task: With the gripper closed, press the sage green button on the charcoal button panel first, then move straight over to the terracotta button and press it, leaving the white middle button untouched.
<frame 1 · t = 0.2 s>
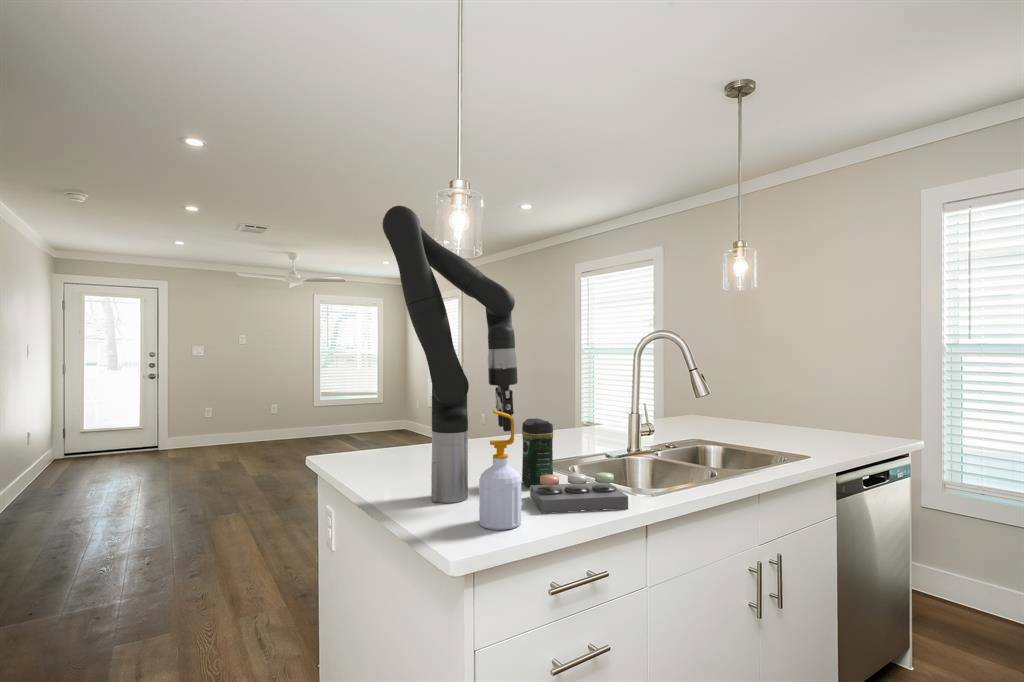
hand: (505, 428, 137), 17 cm above the counter, tool pointing down, fingers open, 8 cm apart
soap bottle: (500, 524, 114), on the counter
button panel: (577, 502, 130), on the counter
terracotta button: (549, 479, 129), point 6 cm above the counter, slide at 0.0 cm
sage button: (604, 477, 131), point 6 cm above the counter, slide at 0.0 cm
coffee jar: (537, 485, 148), on the counter
white button: (577, 478, 130), point 6 cm above the counter, slide at 0.0 cm
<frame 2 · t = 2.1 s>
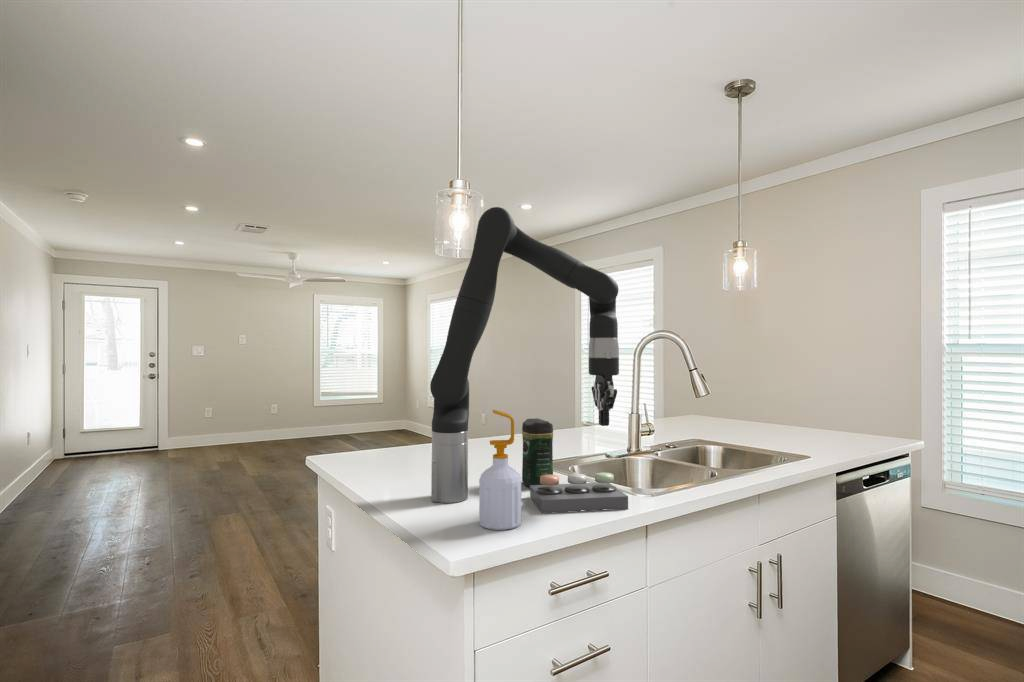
hand: (603, 425, 132), 19 cm above the counter, tool pointing down, fingers closed
nothing on the counter moved.
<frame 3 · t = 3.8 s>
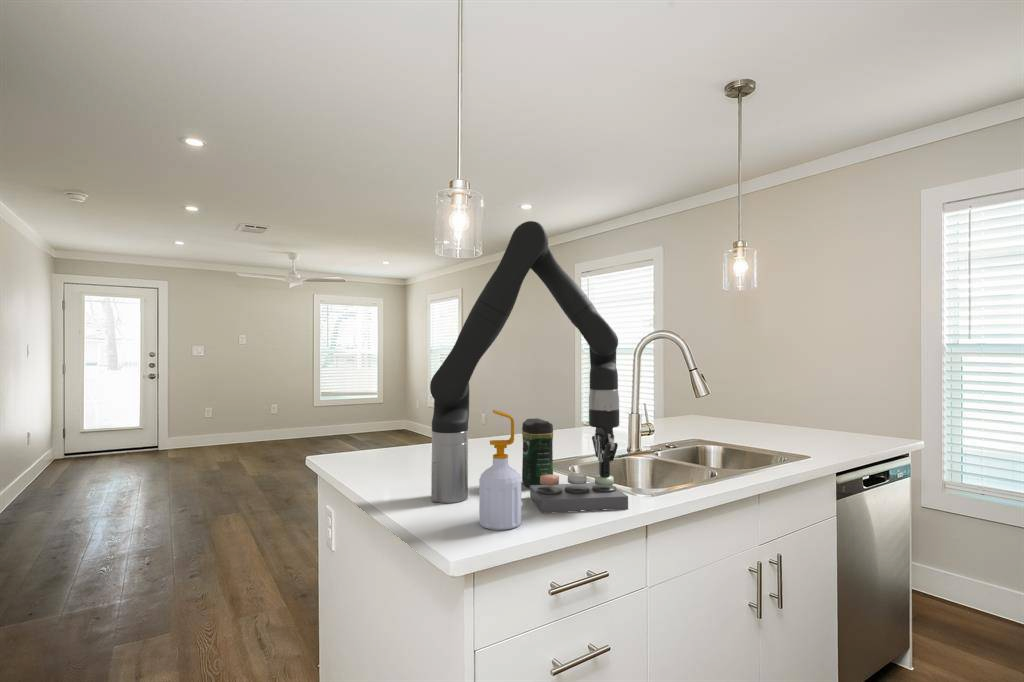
hand: (604, 476, 132), 6 cm above the counter, tool pointing down, fingers closed
sage button: (604, 480, 131), point 5 cm above the counter, slide at 0.6 cm, touching gripper
everything else where it was.
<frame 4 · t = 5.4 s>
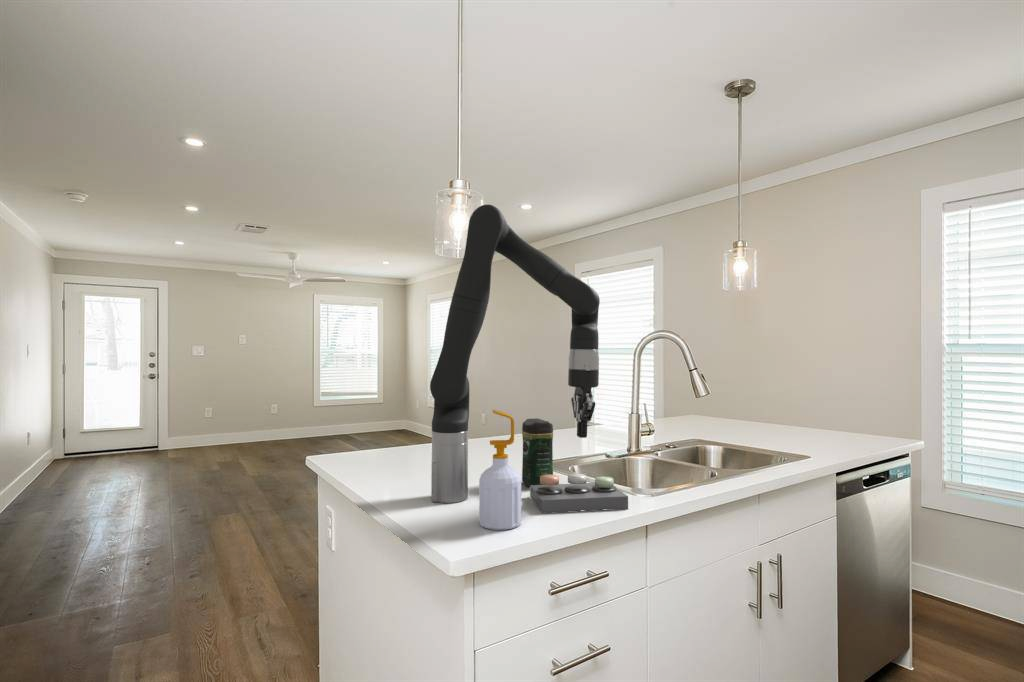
hand: (581, 437, 131), 16 cm above the counter, tool pointing down, fingers closed
sage button: (604, 481, 131), point 5 cm above the counter, slide at 1.0 cm
everything else where it was.
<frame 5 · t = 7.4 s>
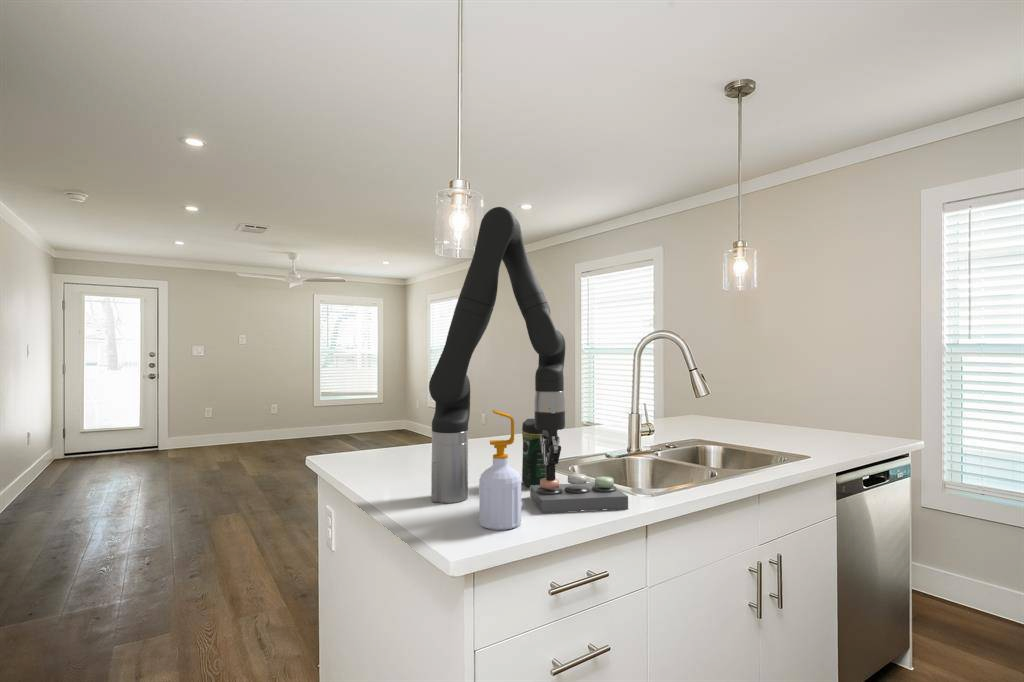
hand: (550, 479, 129), 6 cm above the counter, tool pointing down, fingers closed
terracotta button: (549, 483, 129), point 5 cm above the counter, slide at 0.8 cm, touching gripper
everything else where it was.
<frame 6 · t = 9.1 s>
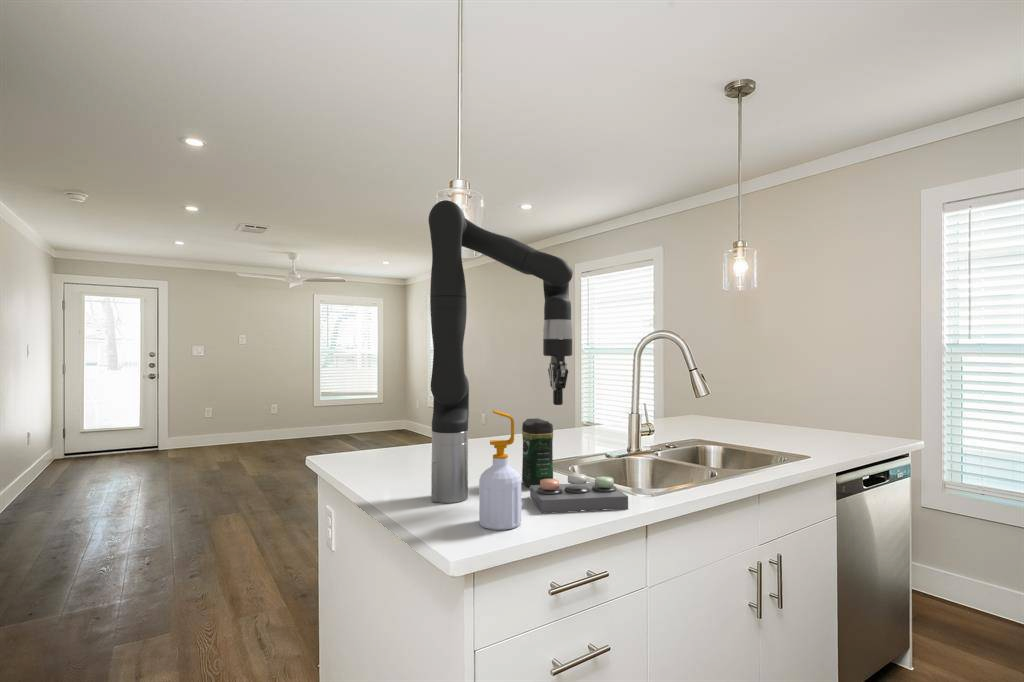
hand: (557, 404, 136), 24 cm above the counter, tool pointing down, fingers closed
terracotta button: (549, 484, 129), point 5 cm above the counter, slide at 1.1 cm
everything else where it was.
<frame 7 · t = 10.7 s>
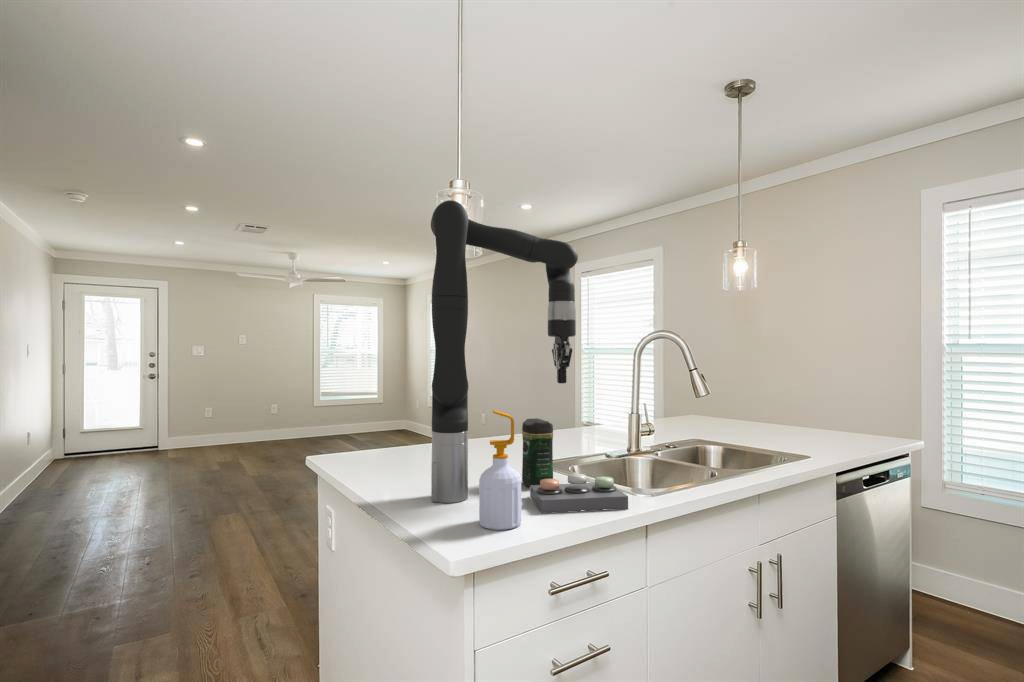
hand: (561, 383, 142), 29 cm above the counter, tool pointing down, fingers closed
nothing on the counter moved.
at the end: sage button slide at 1.0 cm; terracotta button slide at 1.1 cm; white button slide at 0.0 cm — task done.
